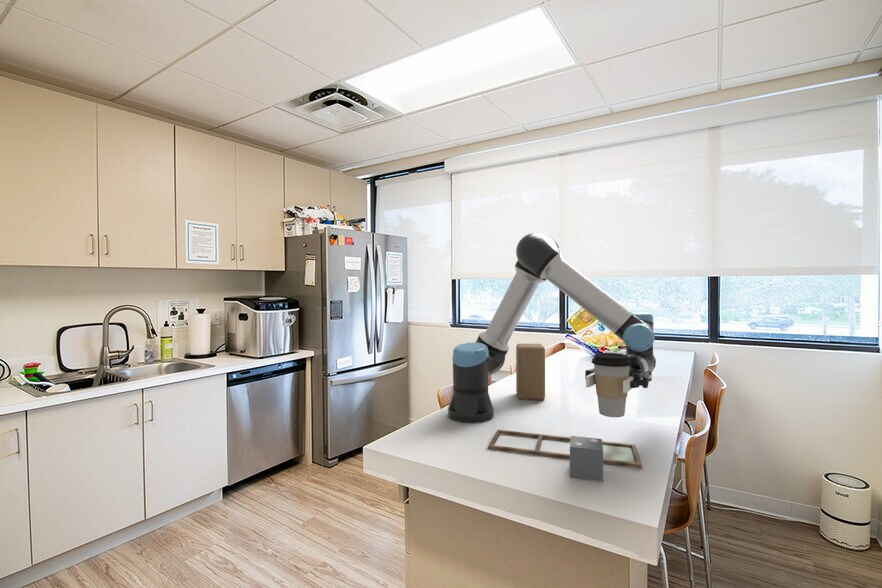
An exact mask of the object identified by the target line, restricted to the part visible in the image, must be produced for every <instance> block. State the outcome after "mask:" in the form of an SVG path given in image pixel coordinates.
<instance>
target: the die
mask: <svg viewBox="0 0 882 588" xmlns="http://www.w3.org/2000/svg"><path fill="white" fill-rule="evenodd" d="M570 437H571V439H570V442H569V454H570V459H569V478H572V479H579V480H580V479H581V480H587V481H594V482H601V483H603V482H604V463H603V444H602V441H603V439H602V438H596V437H587V436H586V437H585V436H577V435H570Z"/></svg>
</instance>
